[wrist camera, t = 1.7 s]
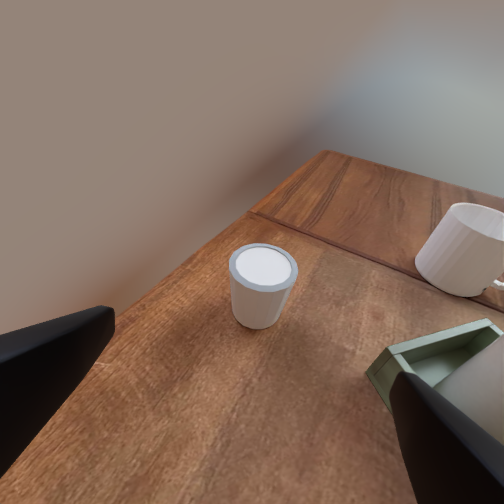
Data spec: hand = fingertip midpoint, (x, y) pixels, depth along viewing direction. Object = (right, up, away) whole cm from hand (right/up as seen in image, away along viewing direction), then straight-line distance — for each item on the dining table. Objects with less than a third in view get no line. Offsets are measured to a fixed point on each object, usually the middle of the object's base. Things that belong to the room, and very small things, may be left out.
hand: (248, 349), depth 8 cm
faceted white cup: (+1, -4, +22) cm, 22 cm away
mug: (+30, -1, +29) cm, 41 cm away
